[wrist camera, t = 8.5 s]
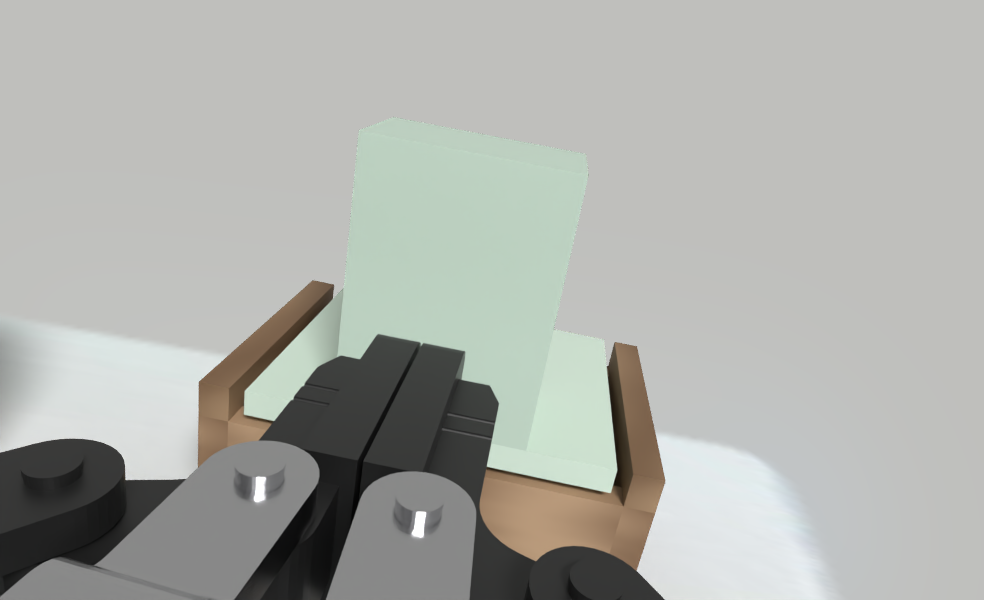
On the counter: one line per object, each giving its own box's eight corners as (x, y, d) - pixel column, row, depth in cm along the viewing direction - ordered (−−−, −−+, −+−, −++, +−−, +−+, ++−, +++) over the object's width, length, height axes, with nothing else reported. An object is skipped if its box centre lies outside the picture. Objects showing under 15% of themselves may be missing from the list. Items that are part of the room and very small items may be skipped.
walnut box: (196, 589, 20) (198, 382, 17) (300, 440, 27) (312, 280, 24) (600, 681, 19) (665, 481, 16) (592, 503, 26) (636, 346, 24)
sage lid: (243, 414, 17) (255, 110, 14) (343, 304, 25) (363, 89, 22) (610, 493, 17) (696, 195, 14) (599, 356, 24) (654, 144, 21)
